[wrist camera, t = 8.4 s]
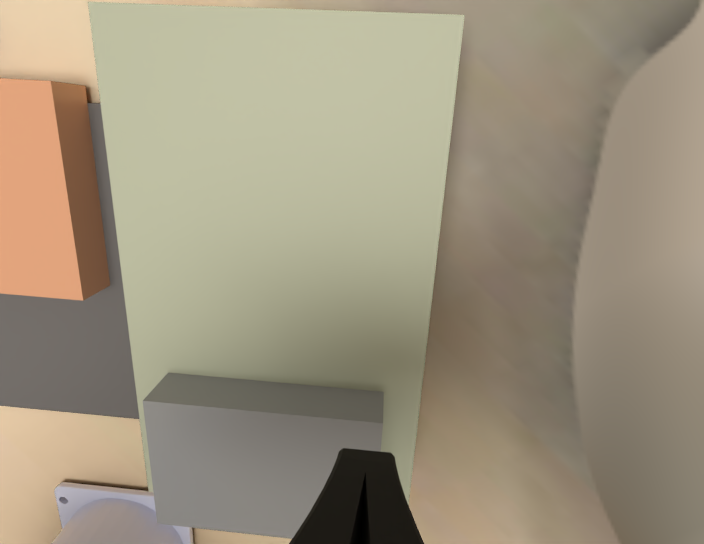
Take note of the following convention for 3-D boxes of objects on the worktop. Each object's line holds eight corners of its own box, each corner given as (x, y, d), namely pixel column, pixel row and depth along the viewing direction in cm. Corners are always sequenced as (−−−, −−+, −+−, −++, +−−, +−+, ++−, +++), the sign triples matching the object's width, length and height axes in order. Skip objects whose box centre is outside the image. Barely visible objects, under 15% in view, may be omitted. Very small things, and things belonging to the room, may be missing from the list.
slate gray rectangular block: (383, 391, 18) (383, 423, 16) (374, 507, 20) (372, 547, 18) (168, 372, 18) (142, 400, 16) (179, 486, 20) (157, 523, 18)
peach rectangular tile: (-44, 289, 20) (-7, 275, 22) (83, 300, 20) (110, 285, 21) (-98, 73, 17) (-49, 78, 19) (50, 81, 17) (85, 85, 19)
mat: (176, 418, 24) (173, 422, 24) (2, 402, 25) (-2, 405, 24) (147, 106, 19) (143, 105, 19) (-71, 95, 20) (-77, 94, 19)
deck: (404, 456, 24) (407, 519, 20) (186, 434, 24) (148, 491, 21) (448, 39, 17) (464, 14, 13) (151, 28, 18) (87, 2, 14)
